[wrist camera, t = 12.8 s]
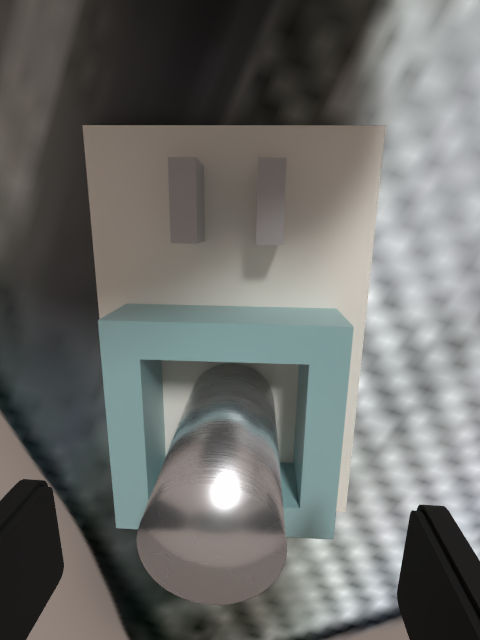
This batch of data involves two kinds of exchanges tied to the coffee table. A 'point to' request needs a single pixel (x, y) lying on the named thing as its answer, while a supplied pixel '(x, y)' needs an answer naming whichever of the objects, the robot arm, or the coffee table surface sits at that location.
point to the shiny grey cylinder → (218, 494)
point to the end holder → (234, 290)
